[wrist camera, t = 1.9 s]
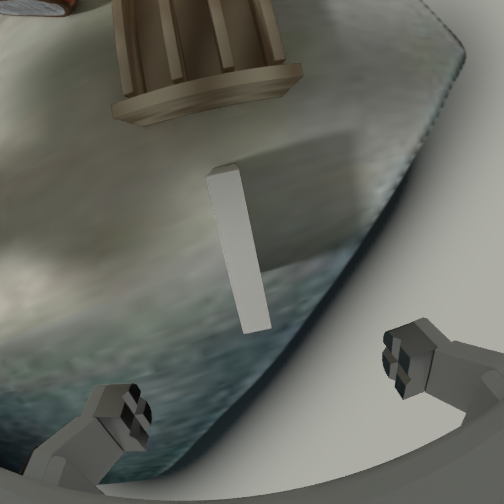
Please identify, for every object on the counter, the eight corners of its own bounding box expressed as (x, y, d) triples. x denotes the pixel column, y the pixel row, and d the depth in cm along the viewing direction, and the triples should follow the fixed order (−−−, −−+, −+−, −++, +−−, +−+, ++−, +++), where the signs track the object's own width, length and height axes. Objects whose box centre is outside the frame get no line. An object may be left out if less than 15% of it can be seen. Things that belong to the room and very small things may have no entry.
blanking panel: (238, 277, 30) (243, 334, 21) (213, 168, 27) (205, 176, 17) (257, 273, 30) (271, 328, 21) (234, 163, 27) (238, 169, 17)
